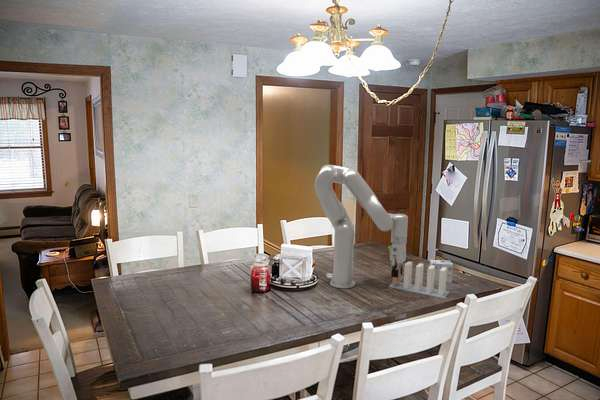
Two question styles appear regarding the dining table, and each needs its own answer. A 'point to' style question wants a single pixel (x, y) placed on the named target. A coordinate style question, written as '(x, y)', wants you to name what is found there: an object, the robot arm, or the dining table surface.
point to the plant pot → (390, 251)
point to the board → (422, 291)
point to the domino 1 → (397, 280)
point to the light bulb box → (439, 265)
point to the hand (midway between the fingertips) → (396, 275)
